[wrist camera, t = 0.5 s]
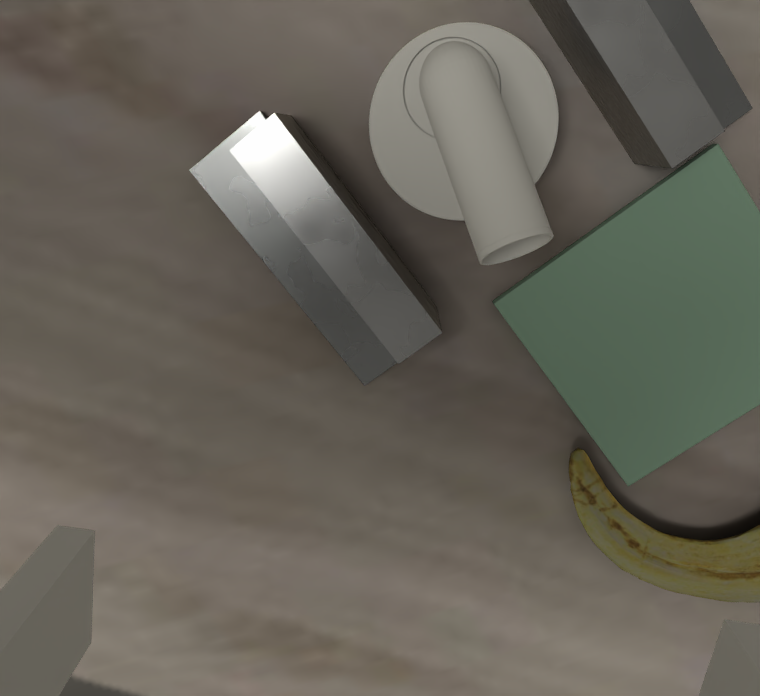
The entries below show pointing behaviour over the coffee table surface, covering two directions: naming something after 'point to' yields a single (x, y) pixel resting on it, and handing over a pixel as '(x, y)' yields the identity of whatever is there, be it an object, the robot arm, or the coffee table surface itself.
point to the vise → (366, 244)
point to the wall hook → (469, 134)
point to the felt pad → (653, 317)
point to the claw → (664, 545)
